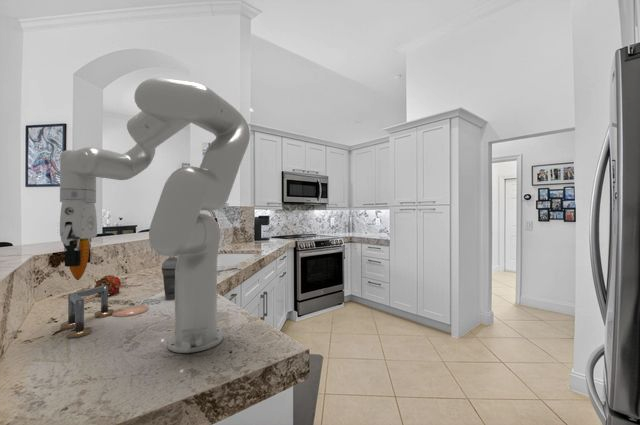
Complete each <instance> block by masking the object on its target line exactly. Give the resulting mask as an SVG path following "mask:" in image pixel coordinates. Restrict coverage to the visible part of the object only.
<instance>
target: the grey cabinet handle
mask: <svg viewBox="0 0 640 425" xmlns="http://www.w3.org/2000/svg"><path fill="white" fill-rule="evenodd" d="M98 292H101V295H100V310H97V311H95V312H94V314H93V315H94V318H97V319H100V318H107V316H108V317H111V316H112V313H113V312H114V311H115V309H109V296H108V286H107V285H104V286H100V287H96V288H94V287H92V288H87V289H84V290H80V291H75V292H72V293H71V292H70V293H67V294H68V297H67V306H68V307H67V310H68V311H67V321H65V322H62V323H60V329H61V330H69V331H67V332H66V338H67V339H77V338H78V339H79V338H83V337H86V336H88V335H90V334H92V332H93V331H92V330H93V329H92V327H90V326H85V299H84V298H82V297H86V296H90V295H93V294H94V295H95V294H98Z"/></svg>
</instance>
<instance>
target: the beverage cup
mask: <svg viewBox="0 0 640 425" xmlns="http://www.w3.org/2000/svg"><path fill="white" fill-rule="evenodd" d="M177 260H178V257H176V256H169V257H168V258H166V259H165V260H164V261H163V262H162V265H161V268H160V270H161V273H162V280H163V288H164V289H163V290H164V296H165V301H175V268H176V263H177Z"/></svg>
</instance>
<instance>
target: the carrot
mask: <svg viewBox="0 0 640 425" xmlns="http://www.w3.org/2000/svg"><path fill="white" fill-rule="evenodd" d="M75 238H77V237H75ZM74 244H75V241H74ZM79 250H81V264H80V266H69V267H68V268H69V270H70V271H69V272H71V275H72V277H74V280H76V281H79V280H80V279H82V277H83V275H84V273H85V271H86V269H87V266H88V263H87V262H88V257H89V240H88V239H80V245H79ZM79 250H78V251H79Z"/></svg>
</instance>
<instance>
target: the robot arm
mask: <svg viewBox="0 0 640 425" xmlns="http://www.w3.org/2000/svg"><path fill="white" fill-rule="evenodd" d="M133 98H134V103H135V104H136V106H137V108H138V109H139V110H140V112H138V113H137V114H136V115H134V116H133V117H132V118H130V119H128V120H127V123H126V129H127V131H128V132H127V133H129V135H130V137H131V138H132V140H133V141H134V143H135V145H134V146H133V147H132V148H131V149H128V151H126V152H124V153H120V152H116V151H112V150H107V149H103V148H100V147H94V146H87V147H83V148H79V149H77V150H76V149H75V150H74V149H70V150H67V149H66V150H63V151H62V152H60V156H59V203H61V205H60V206H61V207H60V216H59V237H60V241H61V242H62V244H63V251H64V267H68V268H69V266H80V264H81V250H79V245H80V239H88V240H89V257H88V262H87V264H88V263H91V247H92V239H94V238H96V237H97V235H98V222H97V221H98V220H97V210H96V203H97V178H100V179H101V178H103V179H108V180H110V179H111V180H117V181H127V180H130V179H132V178H134V177H136V176H138V175H139V174H141V173H142V172H143V171H145V170H146V169H148V167H149V166H150V165H151V164H152V162H153V160H154V157H155V155H156V148H157V147H158V146H161V145H162V144H163V143H164V142H166V141H167V140H168V139H170V138H172V137H173V136H175V135H176V134H178V132H180V131H182V130H183V129H184V128H186V127H187V126H189V125H190V124H193V125H195V126H196V127H199V128H201V129H203V130H205V131H207V132H209V133H211V134H213V135H214V136H215V139H214V140H213V141H212V142H211V143H210V144H209V145H208V146H207V148H206V150H205V152H204V155H203V158H202V161H201V163H200V165H199V166H193V165H192V166H189V165H188V166H182V167H179V168H177V169H176V170H174V171H173V172H172V173H171V174H170V175H169V176H168V178H166V181H165V183H164V186H163V188H162V191H161V194H160V196H159V200H158V202H157V205H156V208H155V210H154V214H153V216H152V219H151V222H150V226H149V231H148V239H149V244H150V246H151V248H152V249H153V250H154V251H155V252H156V253H157V254H159V255H161V256H163V257H170V256H171V257H177V256H178V257H177V258H178V260H177V263H176V268H175V299H174V335H173V336H170V338H169V339H168V340H167V349H168V350H170V351H171V352H174V353H178V354H190V353H191V354H192V353H196V352H197V353H198V352H202V351H205V350H209V349H212V348H214V347H216V346H218V345H219V344H221V343H222V341H223V339H224V332H223V330H222V329H220V328H218V279H217V278H218V254H219V247H220V243H221V228H220V225H219V223H218V222H217V220H216V219H215V218H213V217H212V216H211V215H208V214H205V213H201V211H218V210H220V209H222V208H223V207H224V206H226V204H227V202H228V200H229V197H230V195H231V192H232V189H233V187H234V183H235V181H236V179H237V175H238V173H239V170H240V166H241V163H242V161H243V159H244V155H245V153H246V151H247V149H248V146H249V142H250V139H251V138H250V137H251V136H250V135H251V132H250V127H249V124H248V121H247V120H246V119H245V117H244V116H243V115H242V114H241V112H240V111H239V110H238V109H236V108H235V107H234V106H233V105H232V104H230V102H228V101H227V100H225V99H224V98H223V97H221V96H220V95H218V94H217V93H216V92H215V91H213V90H212V89H210V88H209V87H207V86H205V85H204V84H201V83H198V82H193V81H185V80H179V79H178V80H177V79H170V78H165V77H164V78H162V77H153V78H148V79H145V80H144V81H142V82H141V83H139V85H137V87H136V89H135V91H134V97H133ZM75 237H77V238H75ZM74 241H75V244H74ZM78 250H79V251H78Z"/></svg>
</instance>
